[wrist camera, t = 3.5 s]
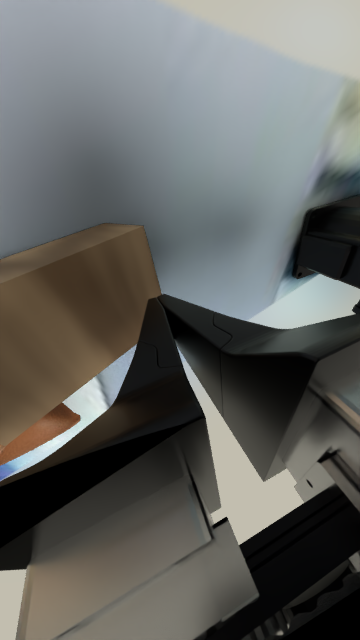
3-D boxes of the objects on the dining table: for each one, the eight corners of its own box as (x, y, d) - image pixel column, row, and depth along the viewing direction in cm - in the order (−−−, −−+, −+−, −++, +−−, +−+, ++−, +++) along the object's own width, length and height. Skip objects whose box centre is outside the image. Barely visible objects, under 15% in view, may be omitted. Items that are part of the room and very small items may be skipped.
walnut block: (143, 225, 10) (-191, 360, 4) (168, 319, 13) (1, 449, 8) (104, 223, 12) (-141, 308, 7) (134, 302, 16) (-11, 395, 11)
